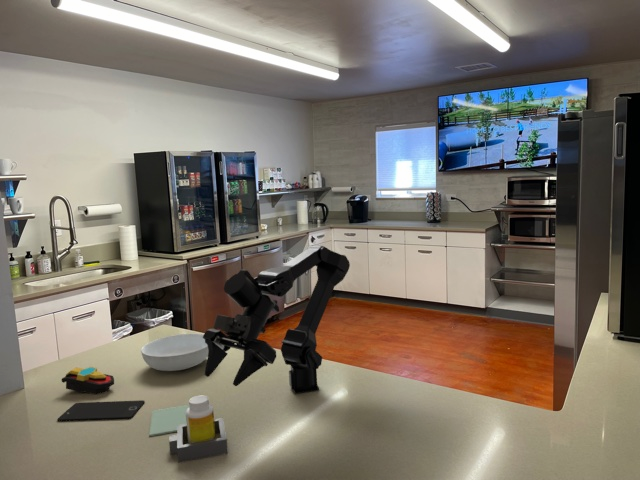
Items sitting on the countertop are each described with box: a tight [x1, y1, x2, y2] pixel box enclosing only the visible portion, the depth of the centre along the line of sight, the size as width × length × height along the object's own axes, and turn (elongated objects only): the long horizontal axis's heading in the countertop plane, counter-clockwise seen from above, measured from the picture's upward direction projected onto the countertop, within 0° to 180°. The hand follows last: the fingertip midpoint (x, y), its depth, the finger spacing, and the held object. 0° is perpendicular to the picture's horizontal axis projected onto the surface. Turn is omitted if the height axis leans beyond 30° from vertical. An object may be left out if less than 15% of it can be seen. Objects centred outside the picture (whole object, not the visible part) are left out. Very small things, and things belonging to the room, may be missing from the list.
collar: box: [168, 417, 228, 463], centre depth 101 cm, size 11×10×3 cm
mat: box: [148, 404, 189, 437], centre depth 113 cm, size 12×12×1 cm
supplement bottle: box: [186, 394, 216, 444], centre depth 100 cm, size 6×6×10 cm
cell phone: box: [56, 399, 145, 423], centre depth 119 cm, size 9×18×1 cm, turn 89°
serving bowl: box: [140, 332, 209, 372], centre depth 147 cm, size 21×21×7 cm
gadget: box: [61, 366, 115, 395], centre depth 131 cm, size 6×13×6 cm, turn 79°
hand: (219, 380), depth 104 cm, fingers open, 9 cm apart
